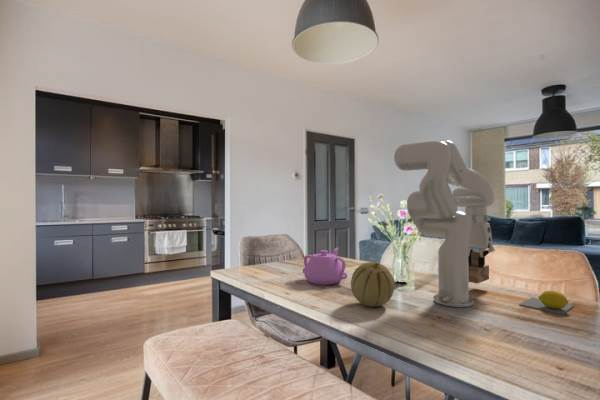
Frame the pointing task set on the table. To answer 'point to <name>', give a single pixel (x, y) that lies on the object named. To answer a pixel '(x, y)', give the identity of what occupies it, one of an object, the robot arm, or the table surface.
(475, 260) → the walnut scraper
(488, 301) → the table surface
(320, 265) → the teapot
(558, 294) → the lemon
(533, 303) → the slate mat
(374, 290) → the cantaloupe
